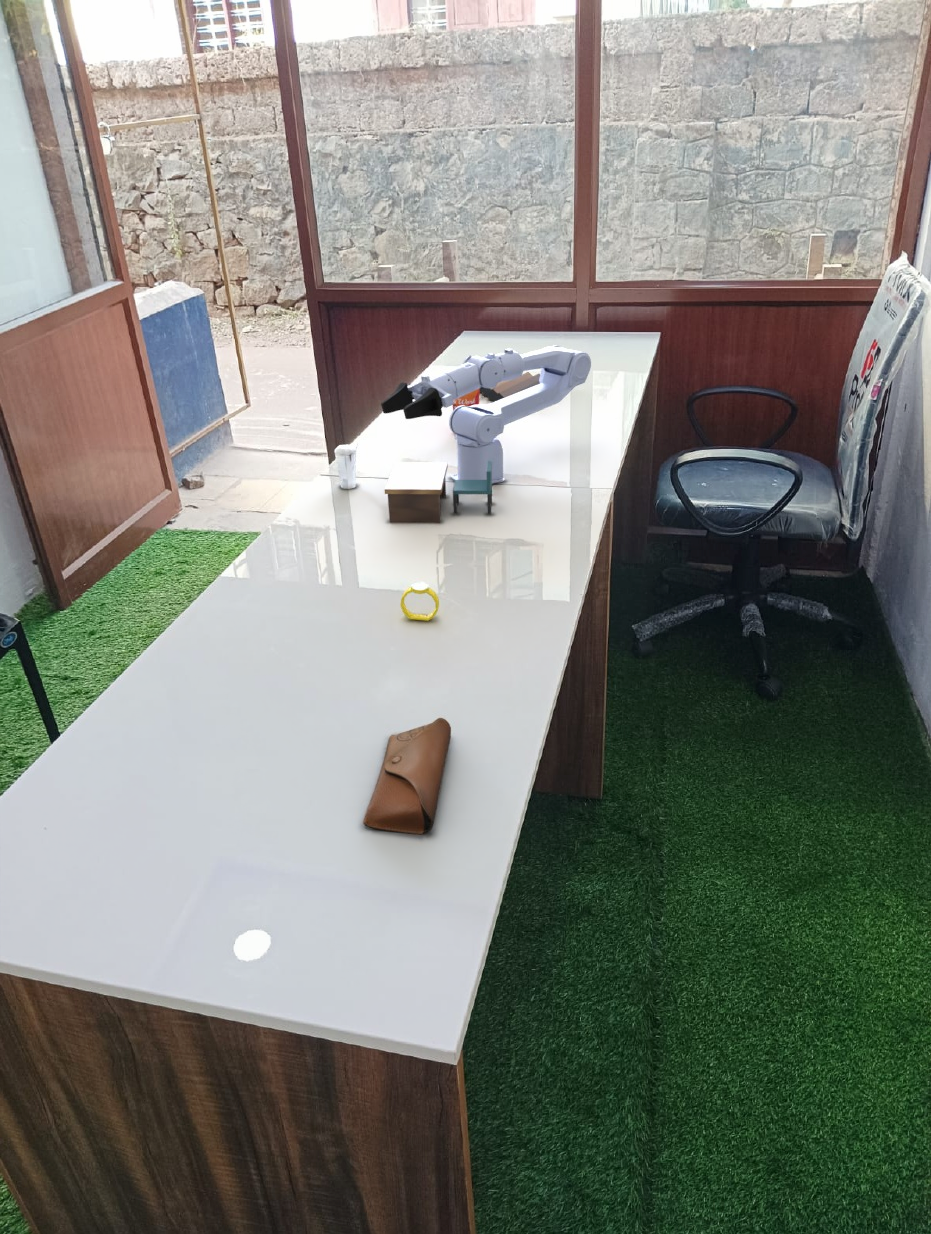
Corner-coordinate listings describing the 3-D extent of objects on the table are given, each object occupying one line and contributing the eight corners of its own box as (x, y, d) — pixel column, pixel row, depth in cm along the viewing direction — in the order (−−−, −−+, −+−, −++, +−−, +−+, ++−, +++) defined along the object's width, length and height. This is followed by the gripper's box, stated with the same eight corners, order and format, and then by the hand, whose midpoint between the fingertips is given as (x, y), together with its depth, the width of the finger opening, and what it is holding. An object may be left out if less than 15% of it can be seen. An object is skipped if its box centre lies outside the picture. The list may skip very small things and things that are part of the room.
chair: (492, 502, 188) (491, 460, 183) (490, 514, 182) (490, 471, 178) (455, 502, 188) (454, 460, 184) (453, 514, 183) (452, 471, 178)
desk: (448, 495, 192) (447, 462, 189) (442, 524, 179) (441, 489, 176) (396, 494, 193) (394, 462, 189) (386, 523, 180) (384, 489, 176)
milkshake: (358, 491, 195) (355, 446, 190) (335, 489, 196) (330, 444, 191) (365, 483, 199) (361, 438, 194) (341, 482, 200) (337, 437, 195)
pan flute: (511, 410, 243) (555, 387, 261) (511, 397, 241) (555, 375, 260) (434, 397, 255) (481, 376, 273) (433, 385, 253) (480, 364, 271)
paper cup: (446, 435, 226) (444, 379, 219) (458, 426, 232) (456, 371, 225) (475, 439, 223) (474, 382, 216) (486, 429, 229) (486, 373, 222)
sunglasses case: (386, 732, 120) (410, 697, 116) (433, 756, 121) (458, 721, 118) (360, 828, 104) (386, 790, 101) (414, 854, 105) (442, 818, 102)
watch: (400, 622, 146) (398, 589, 143) (403, 613, 148) (401, 581, 145) (437, 623, 145) (436, 590, 142) (440, 615, 148) (438, 582, 145)
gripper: (422, 364, 188) (368, 386, 182) (466, 371, 177) (411, 396, 171) (429, 396, 191) (377, 420, 185) (472, 406, 181) (419, 431, 175)
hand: (394, 411), depth 178 cm, fingers open, 7 cm apart
